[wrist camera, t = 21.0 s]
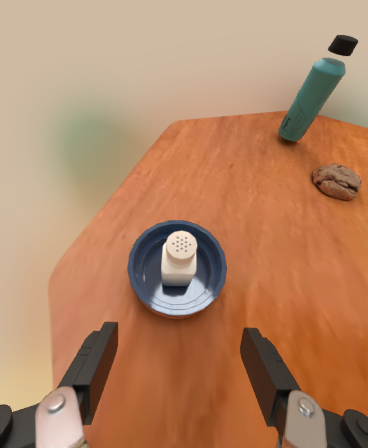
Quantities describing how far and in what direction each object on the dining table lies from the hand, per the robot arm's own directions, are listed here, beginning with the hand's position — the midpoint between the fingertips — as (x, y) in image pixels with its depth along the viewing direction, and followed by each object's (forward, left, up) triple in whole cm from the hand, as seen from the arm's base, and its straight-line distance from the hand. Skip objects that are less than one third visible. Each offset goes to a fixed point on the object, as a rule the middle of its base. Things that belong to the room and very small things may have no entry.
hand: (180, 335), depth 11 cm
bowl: (-7, -4, -13) cm, 15 cm away
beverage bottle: (-54, -1, -13) cm, 56 cm away
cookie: (-44, +13, -13) cm, 48 cm away
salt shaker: (-7, -4, -13) cm, 15 cm away
